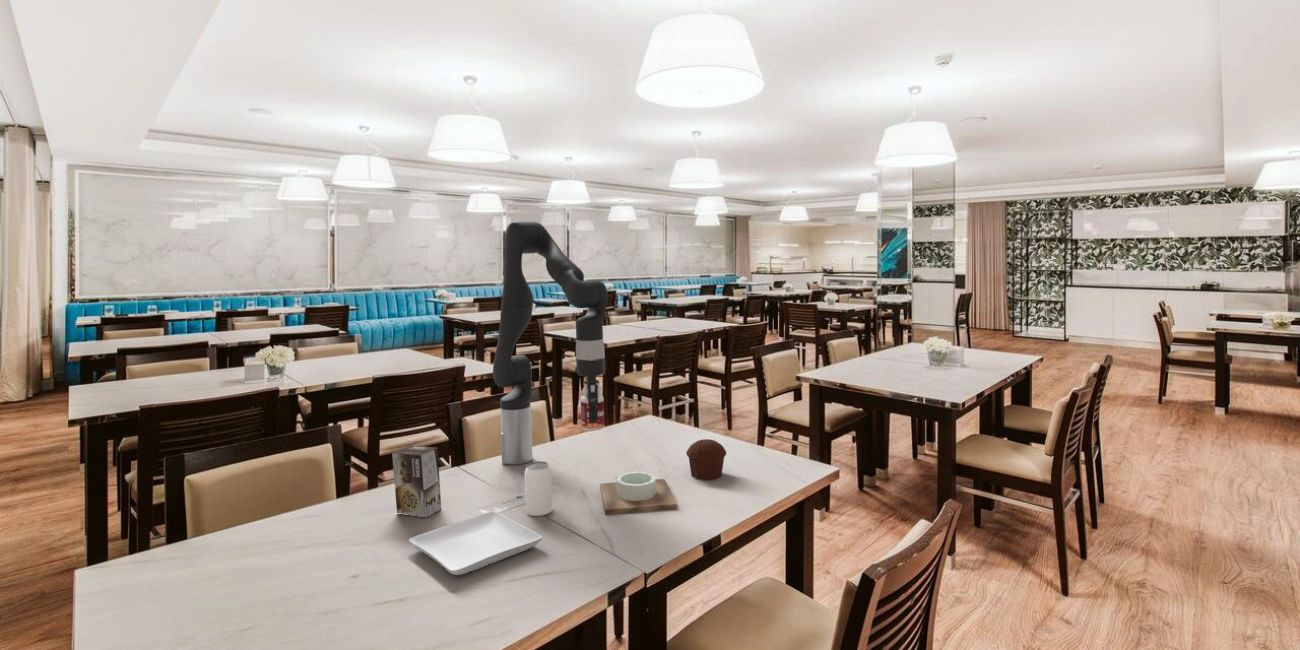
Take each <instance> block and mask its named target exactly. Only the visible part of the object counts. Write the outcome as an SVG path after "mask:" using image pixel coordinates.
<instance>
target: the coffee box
mask: <svg viewBox="0 0 1300 650" xmlns="http://www.w3.org/2000/svg"><path fill="white" fill-rule="evenodd" d="M391 454H392V469H393V477H394V478H393V479H394V481H393V482H394V491H395V492H394V493H395V494H394V495H395V503H396V504H395V505H396V514H397V513H402V514H407V515H413V516H419V517H418V518H420V517H425V518H424V519H427V518H429V517H430V516H432V515H434V514H436V513H437V512H439V511H441V510H442V501H441V500H442V499H441V497H442V495H441V483H440V467H439V466H440V465H439V464H440V463H439V448H438V447H433V446H421V445H407V446H404V447H402V448H400V449H398V450H395V451H394V452H392V453H391ZM440 509H441V510H440ZM438 510H439V511H438ZM436 511H437V512H436ZM435 512H436V513H435ZM433 513H434V514H433ZM431 514H432V515H431ZM428 516H429V517H428ZM426 517H427V518H426Z"/></svg>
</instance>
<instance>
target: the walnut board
mask: <svg viewBox="0 0 1300 650" xmlns="http://www.w3.org/2000/svg"><path fill="white" fill-rule="evenodd" d="M599 489H600V494H601V500H602V506H603V510H604V515H614V514H615V515H616V514H617V515H618V514H627V513H640V512H651V511H652V512H654V511H663V510H664V511H666V510H676V509H678V503H677V501H676V499H675V497H674V495H673V493H672V491H671V489H670V487H669V485H668V483H667V481H666V479H665V478H658V479H656V495H655V496H654V497H653V498H650V499H647V500H641V501H630V500H624V499H622V498H620V497H618V494H617V481H616V482H603V483H599Z"/></svg>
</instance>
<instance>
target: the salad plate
mask: <svg viewBox="0 0 1300 650" xmlns="http://www.w3.org/2000/svg"><path fill="white" fill-rule="evenodd" d="M542 539H543V536H542V535H540V534H539V533H537V532H535V531H533V530H532V529H530V528H528V527H526V526H524V525H522V524H521V523H519V522H516V521H514V520H512V519H511V518H509V517H506V516H505V515H503V514H502V513H499V512H497V511H494V510H493V511H492V510H491V511H489V512H485V513H481V514H478V515H475V516H472V517H470V518H467V519H463V520H460V521H457V522H453V523H450V524H448V525H445V526H442V527H438V528H436V529H433V530H430V531H427V532H424V533H421V534H418V535H416V536H415V535H414V536H413V537H410V538H409V539H408V541H409V544H410V545H411V546H413V547H414V548H415V549H417V550H419V551H420V552H422V553H424V554H425V555H426V556H428V557H430V558H431V559H432V560H434V561H435V562H436V563H438V564H439V565H440V566H442V568H444V569H445V570H446V571H447V572H448V573H450V574H451V575H454V576H461V575H464V574H468V572H469V573H471V572H470V571H472V572H474V571H476V570H475V569H477V570H479V569H478V568H480V567H482V568H484V567H483V566H485V567H487V566H489V565H488V564H490V565H492V564H495V563H497V562H500V561H502V560H504V558H505V559H507V558H509V556H510V557H512V556H515V555H517V554H519V553H522V552H524V551H527V550H529V549H531V548H533V547H535V546H536V545H537V544H539V542H540V541H541V540H542ZM506 557H507V558H506ZM501 559H502V560H501ZM499 560H500V561H499ZM496 561H497V562H496ZM494 562H495V563H494ZM491 563H492V564H491ZM486 565H487V566H486ZM480 569H481V568H480ZM473 570H474V571H473Z"/></svg>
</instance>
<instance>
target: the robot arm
mask: <svg viewBox="0 0 1300 650" xmlns="http://www.w3.org/2000/svg"><path fill="white" fill-rule="evenodd" d="M504 234H505V235H504V269H503V270H504V273H503V287H502V295H501V302H500V303H501V305H500V318H499V319H500V320H499V328H498V337H497V345H496V349H495V354H494V357H493V358H494V359H493V364H492V365H493V367H492V378H493V381H494V384H495V385H496V386H497V387H499V388H508V387H512V389H511V390H510V391H509V392H508V393H507V394H505V395H504V396H502V397H501V398H500V399H499V400H500V401H499V406H500V407H499V409H500V426H501V427H500V429H501V430H500V431H501V433H500V449H501V452H500V453H501V464H503V465H507V464H508V465H522V464H528V463H530V462H531V461H532V460H533V439H532V437H533V435H532V414H531V413H532V412H531V399H532V396H533V395H532V392H533V391H532V383H533V382H532V381H533V379H532V378H533V374H532V373H533V372H532V364H531V361H530V359H529V357H528V356H526V355H524V354H517V355H513V353H514V352H513V351H514V349H515V347H516V345H517V344H516V343H517V342H518V341H519V339H520V338H521V336H522V334H523V333H524V331H526V329H527V327H528V326H529V324H530V322H531V320H532V316H533V307H534V296H533V292H532V290H531V287H530V286H529V284H528V282H527V280H526V277H525V276H524V273H523V268H522V267H523V265H522V264H523V263H522V261H523V254H525V255H526V254H538V255H540V256H541V257H543V258H544V259H545V267H546V271H547V273H548V275H549V277H551V279H552V280H553V281H555V282H556V284H558V285H559V287H561V289H562V292H563V294H564V296H565V298H566V299H567V301H568V303H569V304H570V305H571V306H573V307H574V308H577V309H587V311H586V314H585V315H583V316H581V317H578V318H577V320H576V321H575V337H576V341H575V342H576V343H575V359H576V360H575V361H576V362H575V365H576V373H577V375H578V376H579V377H580V376H581V377H585V380H583V386H584V387H583V388H585V390H586V399H587V400H588V408H589V421H590V422H597V421H598V412H597V408H598V405H599V404H598V399H599V387H600V381H599V379H597V376H601V375H605V373H606V355H605V351H606V350H605V343H604V330H603V329H604V327H603V323H604V319H605V314H606V310H607V306H608V301H609V300H608V299H609V298H608V297H609V294H608V293H609V292H608V289H607V286H606V285H605V284H604V283H603V281H601V280H596V279H595V280H584V279H585V275H584V273H583V270H581V268H580V267H578V265H576V264H575V263H574V261H572V259H570V258H569V257H568V256H566V254H564V252H563V251H562V250H561V248H560V247H559V245H558V244H557V243H556V241H555V240H554V239H553V237H552V236H551V234H550V233H549V231H548V230H547V229H546V227H544V226H543V224H541V223H540V222H537V221H525V220H524V221H521V220H520V221H519V220H518V221H517V220H516V221H510V223H508V224H507V226H506V229H505V233H504ZM587 388H588V389H587ZM590 399H595V400H596V402H590Z"/></svg>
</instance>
